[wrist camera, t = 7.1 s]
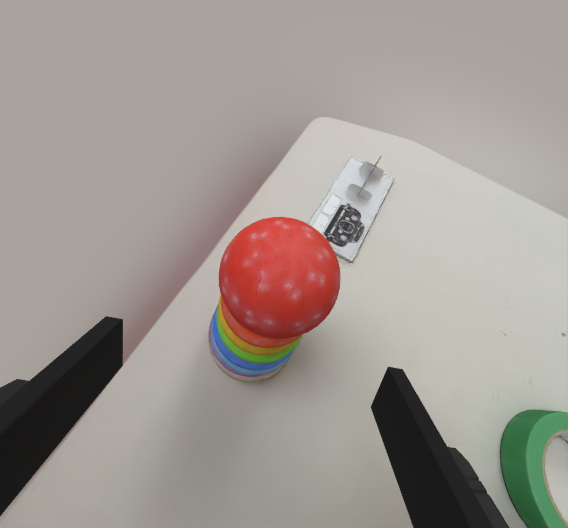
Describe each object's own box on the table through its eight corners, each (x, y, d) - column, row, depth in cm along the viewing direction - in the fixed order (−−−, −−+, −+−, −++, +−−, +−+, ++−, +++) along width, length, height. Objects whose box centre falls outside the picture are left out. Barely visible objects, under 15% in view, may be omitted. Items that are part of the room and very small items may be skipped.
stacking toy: (230, 399, 24) (211, 437, 7) (197, 318, 26) (118, 195, 9) (306, 355, 26) (431, 303, 9) (269, 285, 28) (314, 140, 12)
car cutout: (350, 158, 38) (363, 131, 34) (392, 181, 37) (410, 156, 33) (301, 234, 32) (310, 212, 28) (351, 263, 31) (367, 244, 27)
